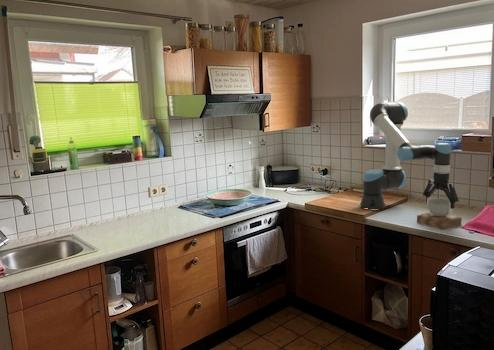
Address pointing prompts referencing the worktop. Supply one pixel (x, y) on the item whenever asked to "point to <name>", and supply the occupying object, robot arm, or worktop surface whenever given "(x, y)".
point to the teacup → (439, 206)
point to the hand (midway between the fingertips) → (439, 211)
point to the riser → (439, 220)
